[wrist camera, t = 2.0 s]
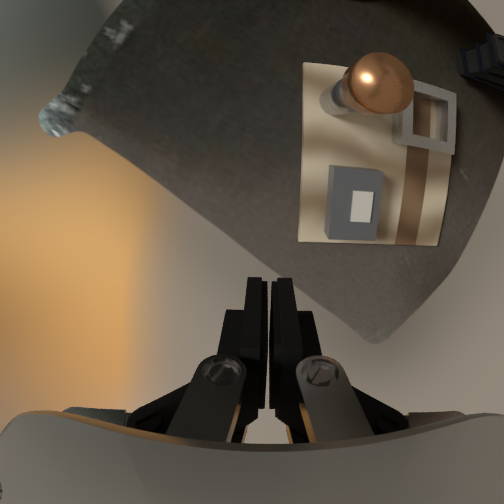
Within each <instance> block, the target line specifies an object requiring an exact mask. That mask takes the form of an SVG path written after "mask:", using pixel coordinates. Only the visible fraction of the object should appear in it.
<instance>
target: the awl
mask: <svg viewBox="0 0 504 504" xmlns="http://www.w3.org/2000/svg"><path fill="white" fill-rule="evenodd" d="M413 96H414V82H413V79H412V76H411V74H410V72H409V70H408V69H407V67H406V66H405V65H404V64H403V63H402V62H401V61H400V60H399V59H397V58H396V57H394V56H392V55H390V54H387V53H383V52H374V53H370V54H368V55H366V56H364V57H363V58H361V59H360V60H359V61H357V62H356V63H354V64H353V65H351V66H350V67H349V68H348V69H347V70H346V71H345V73H344V74H343V77H342V79H341V80H339V81H338V82H336V83H334V84H333V85H331V86H330V87H328V88H327V89H325V90H324V91H323V92H322V93H321V95H320V98H319V103H320V106H321V108H322V110H323V111H324V112H325V113H327V114H329V115H331V116H339V115H345V114H350V113H356V112H361V113H363V114H366V115H382V114H393V113H399V112H401V111H403V110H405V109H406V108H407V107H408V106H409V105H410V103H411V102H412V100H413Z"/></svg>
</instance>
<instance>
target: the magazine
mask: <svg viewBox="0 0 504 504" xmlns="http://www.w3.org/2000/svg"><path fill="white" fill-rule="evenodd" d="M486 40H487V42H486V43H485V44H480V43H477V42H476V43H475V49H473V50H467V49H464V48H461V49H460V51H461V53H460V54H457V61H458V67H459V74H460V75H461V76H464V77H467V78H470V79H473V80H476V81H479V82H481V83H484V84H487V85H489V86H492V87H494V88H497V89H499V90H501V91H504V36H502V35H499V34H494V35H493V34H490V33H487V34H486Z"/></svg>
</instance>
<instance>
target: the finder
mask: <svg viewBox="0 0 504 504" xmlns="http://www.w3.org/2000/svg"><path fill="white" fill-rule="evenodd" d="M383 175H384V172H382V171H379V170H377V169H371V168H362V167H351V166H339V165H329V174H328V190H327V204H326V216H325V227H324V233H325V234H326V236H327V238H328V239H329V240H362V241H375V238H376V232H377V225H378V218H379V211H380V203H381V195H382V186H383Z"/></svg>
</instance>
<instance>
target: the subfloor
mask: <svg viewBox="0 0 504 504" xmlns="http://www.w3.org/2000/svg"><path fill="white" fill-rule="evenodd" d="M347 69H348V67H342V66H334V65H326V64H317V63H305V62H304V63H303V129H302V165H301V190H300V210H299V227H298V241H299V242H333V243H367V244H396V245H425V246H437V244H438V240H439V235H440V230H441V226H442V221H443V215H444V210H445V204H446V197H447V191H448V183H449V175H450V166H451V155H452V154H448V153H443V152H439V151H434V150H430V149H425V148H420V147H415V146H409V145H404V144H398V143H392V142H391V141H392V114H382V115H366V114H363V113H361V112H356V113H350V114H345V115H339V116H331V115H329V114H327V113H325V112H324V111H323V110H322V108H321V106H320V103H319V98H320V95H321V93H322V92H323V91H324V90H325V89H327V88H328V87H330V86H331V85H333V84H334V83H336V82H338V81H339V80H341V79H342V77H343V74H344V73H345V71H346V70H347ZM435 132H436V102H435V101H432V100H429V99H425V98H421V97H418V96H413V133H412V134H414V135H419V136H424V137H428V138H432V139H435ZM329 165H339V166H351V167H362V168H371V169H377V170H379V171H382V172H384V175H383V186H382V195H381V203H380V211H379V218H378V225H377V232H376V238H375V241H362V240H329V239H328V238H327V236H326V234H325V233H324V227H325V216H326V204H327V190H328V174H329Z"/></svg>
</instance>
